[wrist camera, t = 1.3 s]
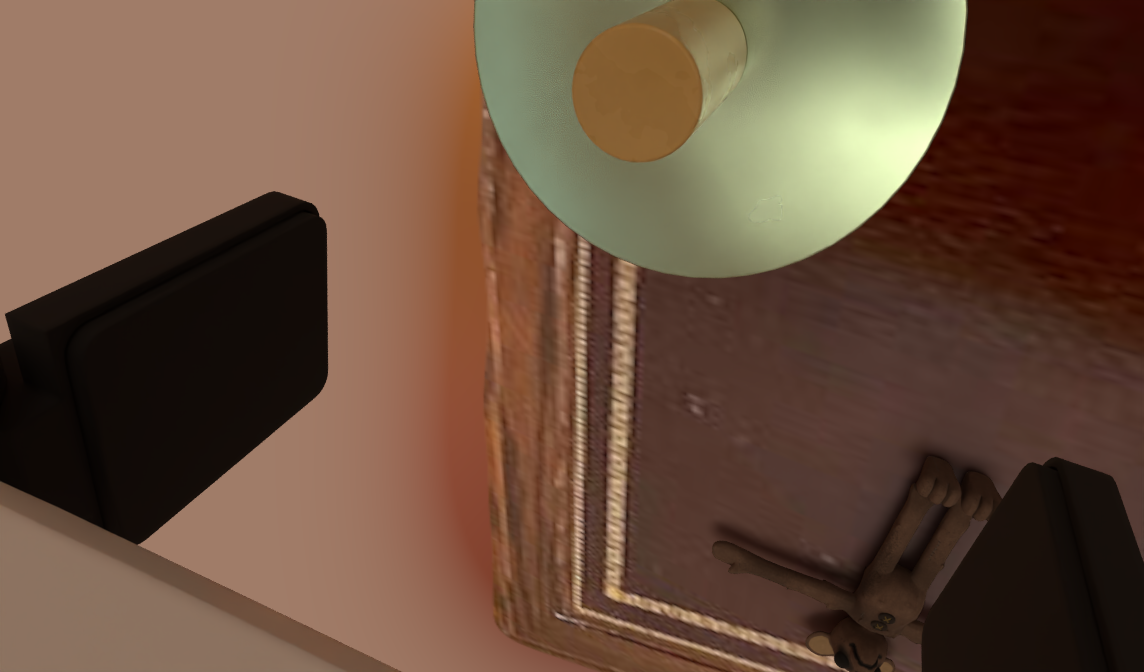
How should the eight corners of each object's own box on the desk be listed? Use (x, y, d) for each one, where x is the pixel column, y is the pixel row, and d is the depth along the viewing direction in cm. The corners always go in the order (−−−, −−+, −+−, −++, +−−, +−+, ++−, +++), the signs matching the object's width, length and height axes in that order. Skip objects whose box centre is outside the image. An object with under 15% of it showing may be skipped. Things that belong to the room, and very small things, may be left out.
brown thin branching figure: (1190, 584, 32) (1018, 790, 39) (1157, 522, 36) (1006, 720, 42) (767, 423, 36) (678, 636, 42) (777, 382, 39) (694, 585, 46)
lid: (521, -288, 20) (376, -355, 15) (1074, -189, 17) (1148, -226, 12) (469, 193, 28) (360, 267, 22) (849, 320, 25) (831, 441, 19)
